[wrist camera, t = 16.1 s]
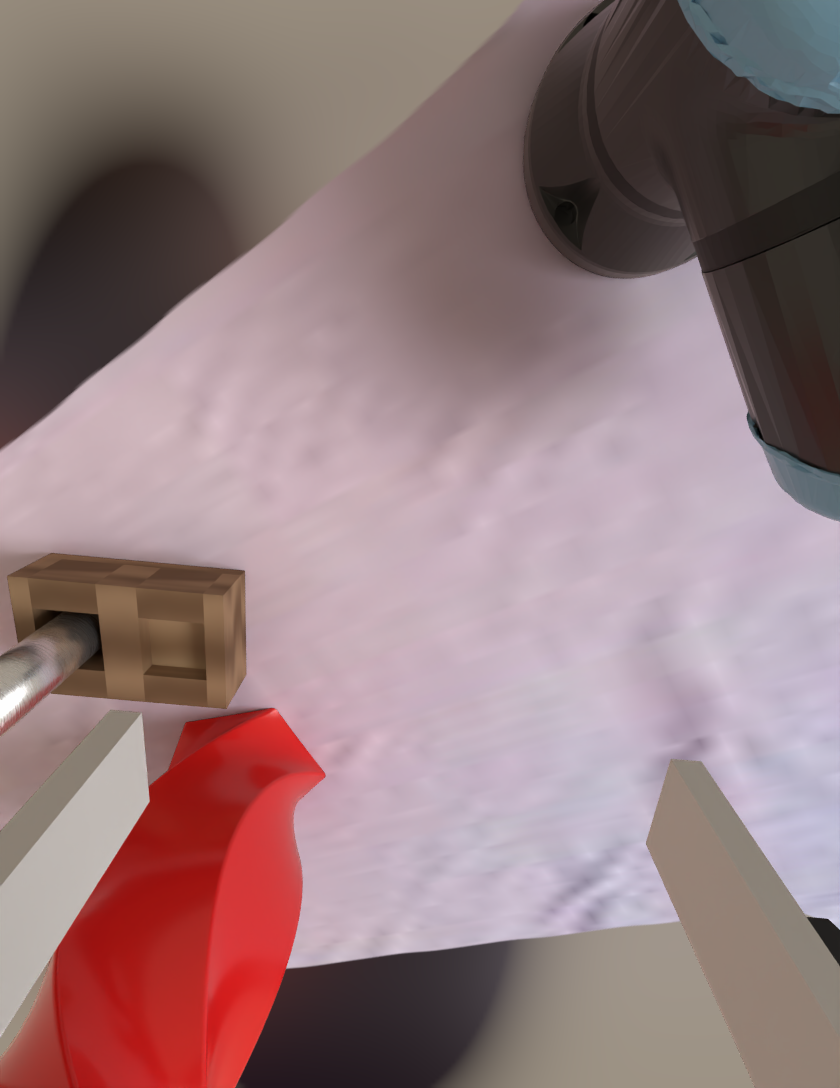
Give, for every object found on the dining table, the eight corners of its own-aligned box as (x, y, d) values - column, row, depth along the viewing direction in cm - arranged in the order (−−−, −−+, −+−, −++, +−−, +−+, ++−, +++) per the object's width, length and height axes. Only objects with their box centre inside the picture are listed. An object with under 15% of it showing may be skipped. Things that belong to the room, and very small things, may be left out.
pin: (71, 593, 45) (-76, 691, 32) (120, 597, 45) (-6, 697, 32) (76, 636, 46) (-63, 747, 33) (124, 640, 46) (4, 753, 33)
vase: (149, 779, 52) (-140, 1211, 26) (211, 669, 48) (-56, 1048, 22) (288, 844, 55) (155, 1301, 28) (358, 744, 51) (281, 1169, 24)
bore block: (51, 553, 45) (6, 576, 40) (244, 570, 45) (223, 595, 40) (65, 658, 48) (26, 691, 43) (246, 674, 48) (226, 708, 44)
